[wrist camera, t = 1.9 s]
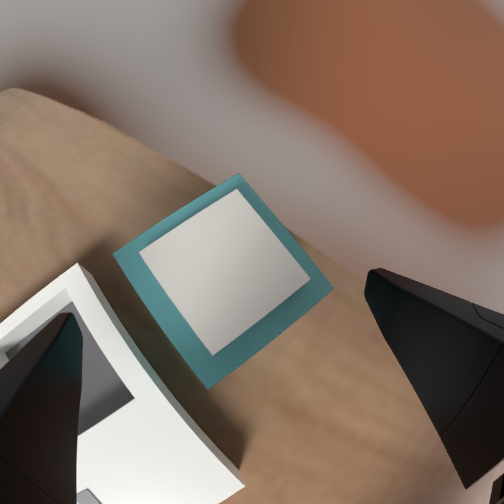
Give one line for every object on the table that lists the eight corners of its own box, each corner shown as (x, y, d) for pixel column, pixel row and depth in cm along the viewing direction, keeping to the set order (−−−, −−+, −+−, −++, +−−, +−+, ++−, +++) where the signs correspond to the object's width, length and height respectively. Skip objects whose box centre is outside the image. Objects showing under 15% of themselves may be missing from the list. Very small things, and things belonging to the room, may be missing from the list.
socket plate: (239, 470, 15) (245, 487, 12) (113, 540, 12) (104, 559, 9) (92, 275, 17) (76, 262, 15) (-16, 359, 14) (-39, 357, 12)
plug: (269, 323, 18) (342, 283, 8) (205, 371, 17) (208, 392, 7) (221, 261, 19) (241, 162, 9) (156, 306, 17) (106, 247, 8)
